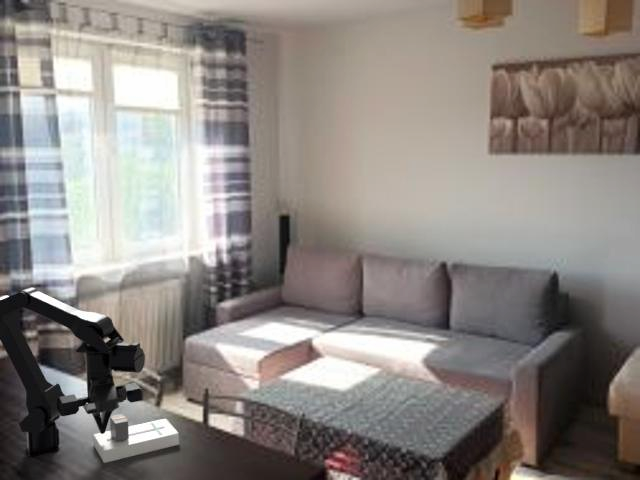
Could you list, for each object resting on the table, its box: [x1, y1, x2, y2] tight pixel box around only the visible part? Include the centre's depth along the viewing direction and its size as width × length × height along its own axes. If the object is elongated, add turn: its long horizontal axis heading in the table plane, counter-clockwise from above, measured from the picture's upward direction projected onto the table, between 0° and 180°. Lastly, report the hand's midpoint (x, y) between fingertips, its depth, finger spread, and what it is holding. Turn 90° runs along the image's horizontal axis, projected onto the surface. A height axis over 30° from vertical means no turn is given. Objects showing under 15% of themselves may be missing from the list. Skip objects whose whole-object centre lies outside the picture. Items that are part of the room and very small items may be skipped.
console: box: [93, 418, 180, 464], centre depth 157 cm, size 18×10×3 cm, turn 122°
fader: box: [109, 413, 129, 442], centre depth 154 cm, size 3×5×5 cm, turn 32°
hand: (102, 433), depth 152 cm, fingers closed
